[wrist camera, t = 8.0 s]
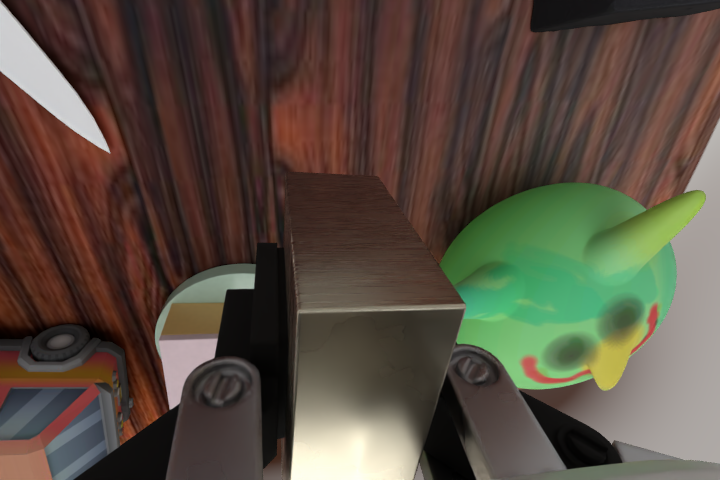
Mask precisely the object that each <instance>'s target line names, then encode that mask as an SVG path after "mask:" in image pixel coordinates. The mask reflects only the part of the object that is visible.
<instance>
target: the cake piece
mask: <svg viewBox="0 0 720 480" xmlns="http://www.w3.org/2000/svg"><path fill="white" fill-rule="evenodd" d="M223 306H224V303H172V304H171V307H170V310H169V313H168V316H167V318H166V321H165V324H164V327H163V330H162V332H161V336H160V338H159V346H160V352H161V359H162V365H163V371H164V377H165V383H166V389H167V395H168V401H169V407H170V410H171V409H172V408H174V407H175V406H177V405H178V404H179V403H180V400H181V394H182V389H183V386H184V383H185V380H186V378H187V377H188V375H189V374H190V373H191V372H192V371H193V370H194V369H195V368H196V367H198V366H199V365H201V364H202V363H204V362H206V361H208V360H211V359H213V358H214V357H215V351H216V346H217V340H218V334H219V329H220V323H221V318H222V312H223Z"/></svg>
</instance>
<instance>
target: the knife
mask: <svg viewBox="0 0 720 480" xmlns="http://www.w3.org/2000/svg"><path fill="white" fill-rule="evenodd" d="M0 71H1V72H2V73H3V74H4V75H6V76H7V77H8V78H9V79H10V80H12V81H13V82H14V83H15V84H16V85H18V86H19V87H20V88H21V89H23V90H24V91H25V92H26V93H27V94H29V95H30V96H31V97H32V98H33V99H35V100H36V101H37V102H38V103H39V104H41V105H42V106H43V107H44V108H45V109H47V110H48V111H49V112H50V113H52V114H53V115H54V116H56V117H57V118H58V119H59V120H61V121H62V122H63V123H65V124H66V125H67V126H68V127H70V128H71V129H72V130H74V131H75V132H77V133H78V134H80V135H81V136H83V137H84V138H86V139H87V140H89V141H90V142H92V143H93V144H95V145H96V146H98V147H100V148H101V149H103V150H105V151H107V152H109V153H110V150H109V148H108V145H107V142H106V140H105V138H104V136H103V134H102V132H101V131H100V129H99V127H98V125H97V123H96V121H95V119H94V117H93V116H92V114H91V113H90V111H89V110H88V108H87V107H86V105H85V104H84V102H83V101H82V99H81V98H80V96H79V95H78V93H77V92H76V91H75V90H74V88H73V87H72V86H71V85H70V83H69V82H68V81H67V80H66V78H65V77H64V76H63V74H62V73H61V72H60V71H59V69H58V68H57V67H56V66H55V65H54V63H53V62H52V61H51V60H50V59H49V57H48V56H47V55H46V54H45V53H44V51H43V50H42V49H41V48H40V47H39V45H38V44H37V43H36V42H35V40H34V39H33V38H32V37H31V36H30V34H29V33H28V32H27V31H26V30H25V28H24V27H23V26H22V25H21V24H20V22H19V21H18V20H17V19H16V18H15V17H14V15H13V14H12V13H11V12H10V11H9V10H8V8H7V7H6V6H5V5H4V4H3V3H2V1H1V0H0Z"/></svg>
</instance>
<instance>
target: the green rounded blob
mask: <svg viewBox="0 0 720 480" xmlns="http://www.w3.org/2000/svg"><path fill="white" fill-rule="evenodd" d="M705 199H706V195H705V193H704V192H703V191H700V190H695V191H690V192H686V193H683V194H680V195H678V196H675V197H673V198H671V199H669V200H666V201H664V202H662V203H660V204H658V205H656V206H654V207H652V208H650V209H648V210H646V209H645V208H644V207H643V206H642V205H641V204H639V203H638V202H637V201H635V200H634V199H632V198H630V197H629V196H627V195H625V194H623V193H621V192H619V191H617V190H614V189H611V188H608V187H605V186H601V185H596V184H590V183H558V184H551V185H546V186H541V187H537V188H533V189H530V190H527V191H524V192H521V193H518V194H516V195H513V196H511V197H509V198H507V199H505V200H503V201H501V202H499V203H497V204H495V205H494V206H492V207H490V208H489V209H487V210H486V211H484V212H483V213H482V214H480V215H479V216H478V217H476V218H475V219H474V220H473V221H472V222H470V223H469V224H468V225H467V226H466V227H465V228H464V229H463V230H462V231H461V232H460V233H459V234H458V236H457V237H456V238H455V239H454V241H453V242H452V243H451V245H450V246H449V248H448V249H447V251H446V252H445V254H444V256H443V258H442V260H441V262H440V265H439V266H440V267H441V269H442V270H443V272H444V273H445V275H446V276H447V278H448V279H449V280H450V282H451V283H452V285H453V286H454V288H455V289H456V291H457V292H458V294H459V295H460V296H461V298H462V299H463V301H464V302H465V304H466V311H465V314H464V318H463V321H462V324H461V327H460V331H459V334H458V337H457V340H456V342H457V344H471V345H475V346H478V347H481V348H483V349H485V350H487V351H489V352H490V353H492V354H493V355H494V356H495V357H497V358H498V359H499V361H500V362H501V363H502V364H503V366H504V367H505V369H506V371H507V372H508V374H509V375H510V377H511V379H512V380H513V382H514V384H515V385H516V387H517V388H524V389H547V388H548V389H549V388H556V387H563V386H568V385H572V384H576V383H580V382H583V381H586V380H589V379H591V378H594V379H595V381H596V383H597V384H598V386H599V387H600V388H601V389H602V390H609V389H611V388H613V387H614V386H615V385H616V384H617V382H618V381H619V379H620V377H621V375H622V373H623V371H624V368H625V366H626V364H627V361H628V359H629V357H630V356H632V355H633V354H634V353H635V352H636V351H638V350H639V349H640V348H641V347H642V346H643V345H644V344H645V343H646V342H647V341H648V340H649V339H650V337H651V336H652V335H653V334H654V333H655V332H656V330H657V329H658V327H659V326H660V324H661V323H662V321H663V320H664V318H665V316H666V314H667V312H668V310H669V308H670V305H671V303H672V300H673V296H674V292H675V287H676V277H677V275H676V274H677V271H676V262H675V256H674V252H673V249H672V246H671V243H670V240H671V239H672V238H673V237H675V235H677V234H678V233H679V232H680V231H681V230H682V229H683V228H684V227H685V226H686V225H687V224H688V223H689V222H690V220H692V218H693V217H694V216H695V215H696V214H697V213H698V211H699V210H700V209H701V207H702V206H703V204H704V202H705Z"/></svg>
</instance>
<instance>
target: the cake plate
mask: <svg viewBox="0 0 720 480" xmlns="http://www.w3.org/2000/svg"><path fill="white" fill-rule="evenodd" d="M255 268H256V264H230V265H224V266H219V267H215V268H211V269H208V270H206V271H203V272H200V273H198V274H196V275H194V276H193V277H191V278H189V279H187V280H186V281H185V282H183V283H182V284H180V285H179V286H178V287H177V288H176V289H175V290H174V291H173V292H172V293H171V295H170V296H169V297H168V299H167V300H166V302H165V304H164V306H163V308H162V310H161V313H160V315H159V318H158V321H157V324H156V329H155V344H156V347H157V351H158V353H159V355H160V358H161V352H160V346H159V338H160V336H161V332H162V330H163V327H164V324H165V321H166V318H167V316H168V313H169V310H170V307H171V304H172V303H224V301H225V295H226V291H227V289H254V282H255ZM161 360H162V359H161Z"/></svg>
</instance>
